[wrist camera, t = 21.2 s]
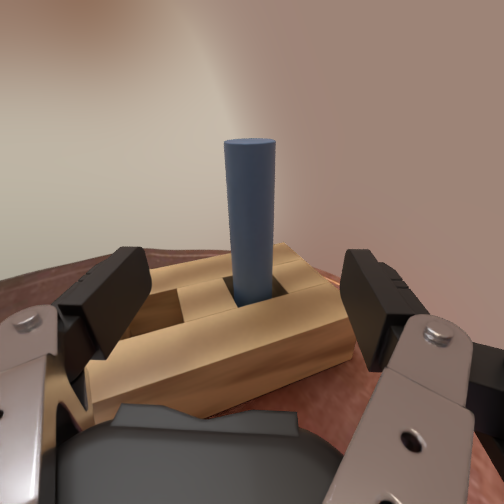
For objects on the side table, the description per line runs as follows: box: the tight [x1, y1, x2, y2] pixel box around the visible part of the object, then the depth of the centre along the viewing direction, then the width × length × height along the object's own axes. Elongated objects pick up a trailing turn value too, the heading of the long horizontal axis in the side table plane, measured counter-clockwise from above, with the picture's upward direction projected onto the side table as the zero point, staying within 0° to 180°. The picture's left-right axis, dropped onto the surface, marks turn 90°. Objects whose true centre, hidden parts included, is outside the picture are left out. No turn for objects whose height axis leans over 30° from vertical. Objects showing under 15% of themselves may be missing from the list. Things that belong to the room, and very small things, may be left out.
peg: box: [224, 138, 276, 308], centre depth 20 cm, size 3×3×16 cm
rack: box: [86, 243, 356, 425], centre depth 21 cm, size 12×20×5 cm, turn 112°
